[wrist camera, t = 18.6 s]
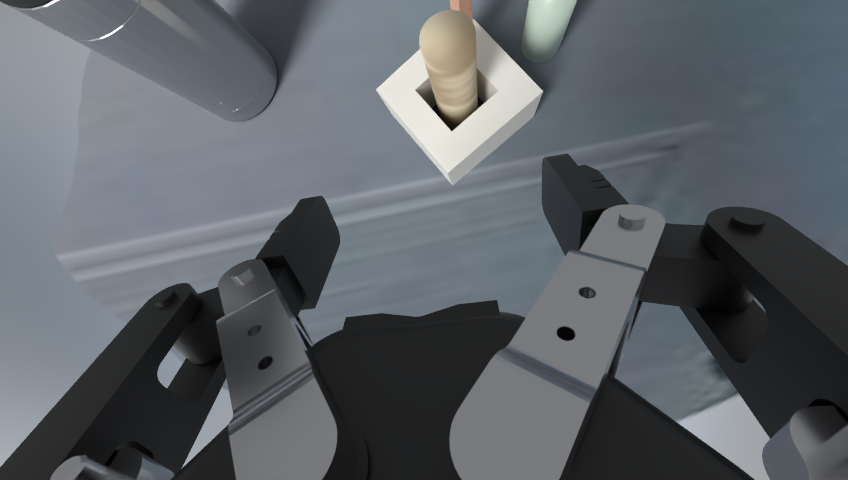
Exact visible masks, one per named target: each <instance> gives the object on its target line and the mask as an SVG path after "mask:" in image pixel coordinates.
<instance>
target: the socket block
mask: <svg viewBox="0 0 848 480" xmlns="http://www.w3.org/2000/svg"><path fill="white" fill-rule="evenodd" d="M450 6H451V10H458V11H461V12H463V13H465V14H466V15H467V16H468V17H469V18H470V19H471V20H472V22H473V24H474V26H475V30H476V60H477V96H478V97H479V98H480V99H481V100H482V101H483V102H484V104H483V105H482V106H481V107H479V108H478V109H477V110H476V111H475V112H474V113H473V114H471V115H470V116H469V117H468V118H467V119H466V120H464V121H463V122H462V123H461V124H460V125H459V126H458V127H456V128H455V129H454V130H453V131H451V130H450V129H449V128H448V127H447V126H446V125H445V123H444V122H443V121H442V120H441V119H440V118H439V117H438V116H437V114H436V113H435V112H434V111H433V110H432V108H433V107H434V106H435V105H436V104H437V103H436V100H435V96H434V93H433V89H432V86H431V83H430V79H429V76H428V72H427V69H426V66H425V62H424V59H423V55H422V52H421V49H419V50H418V51H417V52H416V53H415V54H414V55H413V56H412V57H411V58H410V59H409V60H408V61H406V62H405V63H404V64H403V65H402V66H401V67H400V68H399V69H398V70H397V71H396V72H395V73H393V74H392V75H391V76H390V77H389V78H388V79H387V80H386V81H385V82H384V83H383V84H381V85H380V86H379V87H378V88H377V89H376V90H377V92H378V93H379V95H380V97H381V98H382V100H383V101H384V103H385V104H386V106H387V107H388V109H389V110H390V112H391V114H392V115H393V116H394V117H395V118H396V119H397V121H398V122H399V123H400V124H401V125H402V126H403V128H404V129H405V130H406V131H407V132H408V133H409V135H410V136H411V137H412V138H413V139H414V141H415V142H416V143H417V144H418V145H419V146H420V148H421V149H422V150H423V151H424V152H425V153H426V155H427V156H428V157H429V158H430V159H431V160H432V162H433V163H434V164H435V165H436V166H437V167H438V169H439V170H440V171H441V172H442V173H443V175H444V176H445V177H446V178H447V179H448V180H449V182H450V183H451V184H452V185H454V184H455V183H457V182H458V181H459V180H460V179H461V178H462V177H464V176H465V175H466V174H467V173H468V172H469V171H471V170H472V169H473V168H474V167H475V166H477V165H478V164H479V163H480V162H481V161H482V160H484V159H485V158H486V157H487V156H488V155H489V154H491V153H492V152H493V151H494V150H495V149H497V148H498V147H499V146H500V145H501V144H502V143H504V142H505V141H506V140H507V139H508V138H509V137H511V136H512V135H513V134H514V133H515V132H517V131H518V130H519V129H520V128H521V127H522V126H524V125H525V124H526V123H527V122H528V121H529V120H531V119H532V118H533V117H534V115H535V112H536V109H537V107H538V104H539V101H540V99H541V96H542V93H543V91H542V90H541V89H540V88H539V86H538V85H537V84H536V83H535V82H534V81H533V80H532V79H531V78H530V77H529V76H528V75H527V74H526V73H525V72H524V71H523V70H522V69H521V68H520V67H519V66H518V65H517V64H516V63H515V62H514V60H513V59H512V58H511V57H510V56H509V55H508V54H507V53H506V52H505V51H504V50H503V49H502V48H501V47H500V46H499V45H498V44H497V43H496V42H495V41H494V40H493V39H492V38H491V37H490V36H489V34H488V33H487V32H486V31H485V30H484V29H483V28H482V27H481V26H480V25H479V24H478V23H477V22H476V21H475V20H474V19H473V18H472V0H450Z"/></svg>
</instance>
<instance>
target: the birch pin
mask: <svg viewBox="0 0 848 480" xmlns="http://www.w3.org/2000/svg"><path fill="white" fill-rule="evenodd" d="M419 44H420V49H421V52H422V55H423V59H424V62H425V66H426V69H427V72H428V76H429V79H430V83H431V86H432V89H433V93H434V96H435V100H436V103H437V106H438V110H439V113H440V117H441V120H442V121H443V122H444V123H445V125H446V126H447V127H448V128H449V129H450V130H451V131H453V130H454V129H455V128H456V127H458V126H459V125H460V124H461V123H462V122H463V121H464V120H466V119H467V118H468V117H469V116H470V115H471V114H473V113H474V112H475V111H476V110H477V109H478V99H477V60H476V30H475V26H474V24H473V22H472V20H471V19H470V18H469V17H468V16H467V15H466V14H465V13H463V12H461V11H458V10H444V11H441V12H438V13H436V14H434V15H433V16H432V17H430V18H429V19H428V20H427V21H426V23H425V24H424V26H423V27H422V30H421V32H420V37H419Z"/></svg>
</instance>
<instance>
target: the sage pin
mask: <svg viewBox="0 0 848 480" xmlns="http://www.w3.org/2000/svg"><path fill="white" fill-rule="evenodd" d="M576 2H577V0H529V3H528V9H527V14H526V20H525V25H524V31H523V36H522V41H521V51H522V54H523V56H524V57H525V58H526V59H527V60H529V61H531V62H533V63H544V62H547V61H549V60H550V59H552V58H553V57H554V56H555V55H556V54H557V52H558V50H559V47H560V45H561V42H562V39H563V37H564V34H565V31H566V29H567V26H568V23H569V21H570V18H571V15H572V12H573V10H574V7H575V4H576Z"/></svg>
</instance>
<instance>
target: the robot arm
mask: <svg viewBox="0 0 848 480" xmlns="http://www.w3.org/2000/svg"><path fill="white" fill-rule="evenodd" d="M0 1H1V2H2V3H4V4H7V5H9V6H10V7H12V8H14V9H16V10H18V11H20V12H21V13H23V14H25V15H27V16H29V17H31V18H33V19H35V20H37V21H39V22H41V23H42V24H44V25H47V26H48V27H50V28H52V29H54V30H56V31H58V32H59V33H61V34H63V35H65V36H67V37H70V38H71V39H73V40H75V41H77V42H79V43H81V44H83V45H85V46H87V47H89V48H90V49H92V50H94V51H96V52H98V53H100V54H102V55H104V56H106V57H108V58H109V59H111V60H113V61H115V62H117V63H119V64H121V65H123V66H125V67H127V68H128V69H130V70H132V71H134V72H136V73H138V74H140V75H142V76H144V77H146V78H147V79H149V80H151V81H153V82H155V83H157V84H159V85H161V86H163V87H165V88H167V89H168V90H170V91H172V92H174V93H176V94H178V95H180V96H182V97H184V98H186V99H187V100H189V101H191V102H193V103H195V104H197V105H199V106H201V107H203V108H204V109H206V110H208V111H210V112H212V113H214V114H216V115H218V116H220V117H222V118H224V119H226V120H230V121H244V120H248V119H250V118H252V117H254V116H256V115H258V114H259V113H260V112H261V111H263V110H264V108H265V107H266V106H267V105H268V104H269V102H270V100H271V99H272V97H273V94H274V92H275V89H276V83H277V69H276V65H275V62H274V60H273V58H272V56H271V55H270V53H269V52H268V51H267V50H266V49H265V48H264V47H263V46H262V45H261V44H260V43H259V42H258V41H257V40H256V39H255V38H254V37H252V36H251V35H250V34H249V33H248V32H247V31H246V30H245V29H244V28H243V27H242V26H241V25H240V24H239V23H238V22H237V21H236V20H235V19H234V18H233V17H232V16H230V15H229V14H228V13H227V12H226V11H225V10H224V9H223V8H222V7H221V6H220V5H219V4H218V3H217V2H216V1H215V0H0ZM542 205H543V211H544V214H545V216H546V218H547V220H548V222H549V224H550V226H551V228H552V230H553V232H554V234H555V236H556V238H557V240H558V242H559V244H560V246H561V248H562V250H563V252H564V254H565V257H564V259H563V261H562V262H561V264H560V265H559V267H558V268H557V270H556V272H555V273H554V275H553V276H552V278H551V279H550V281H549V282H548V284H547V286H546V287H545V289H544V290H543V292H542V293H541V295H540V297H539V298H538V300H537V301H536V303H535V304H534V306H533V307H532V309H531V311H530V312H529V314H528V315H527V317H526V318H525V317H522V316H519V315H515V314H510V313H505V312H499V308H498V303H497V300H493V301H484V302H476V303H467V304H458V305H455V306H452V307H449V308H446V309H443V310H439V311H436V312H433V313H430V314H427V315H424V316H420V317H411V316H402V315H392V314H383V313H380V314H371V315H363V316H354V317H346V319H345V323H344V326H343V330H340V331H338V332H335V333H333V334H331V335H329V336H327V337H325V338H323V339H322V340H320V341H319V342H317V343H316V344H314V343H313V341H312V339H311V337H310V335H309V333H308V331H307V329H306V327H305V326H304V324H303V322H302V320H301V318H300V317H299V315H298V314H299V312H300V310H305V309H313V308H315V307H316V304H317V302H318V299H319V297H320V294H321V291H322V289H323V286H324V284H325V281H326V278H327V276H328V273H329V271H330V268H331V266H332V263H333V260H334V258H335V255H336V253H337V250H338V248H339V245H340V235H339V231H338V228H337V226H336V223H335V221H334V219H333V217H332V214H331V212H330V210H329V207H328V205H327V203H326V201H325V199H324V198H323V197H322V196H316V197H311V198H305V199H301V200H300V201H299V202H298V204H297V205H296V207H295V208H294V210H293V211H292V213H291V214H290V215H288V216H287V217H286V218H285V219H284V220H282V221H281V222H280V223H279V225H278V226H277V228H276V229H275V232H273V233H272V235H271V236H270V240H268V241H267V242H266V244H265V245H264V247H263V248H262V249H261V251H260V252H259V254H258V255H257V257H256V258H255V259H252V260H248V261H245V262H242V263H240V264H238V265H236V266H234V267H232V268H231V269H230V270H228V271H227V272H226V273H225V274H224V275H223V276H222V277H221V279H220V280H219V282H218V287H216V288H214V289H211V290H208V291H205V292H202V293H199V294H198V293H197V292H196V291H195V290H194V289H193V287H192V286H191V285H190V284H187V283H181V284H176V285H173V286H171V287H168V288H166V289H164V290H162V291H161V292H159V293H157V294H156V295H154V296H153V297H152V298H151V299H149V300H148V301H147V302H146V303H145V304H144V306H143V307H142V308H141V309H140V310H139V311H138V312H137V313H136V315H135V316H134V317H133V318H132V319H131V320H130V321H129V322H128V324H127V325H126V326H125V327H124V328H123V329H122V330H121V331H120V333H119V334H118V335H117V336H116V337H115V338H114V339H113V341H112V342H111V343H110V344H109V345H108V346H107V347H106V349H105V350H104V351H103V352H102V353H101V354H100V355H99V356H98V357H97V359H96V360H95V361H94V362H93V363H92V364H91V365H90V367H89V368H88V369H87V370H86V371H85V372H84V373H83V374H82V376H81V377H80V378H79V379H78V380H77V381H76V382H75V383H74V385H73V386H72V387H71V388H70V389H69V391H67V393H66V394H65V395H64V396H63V397H62V398H61V399H60V401H59V402H58V403H57V404H56V405H55V406H54V407H53V408H52V410H51V411H50V412H49V413H48V414H47V415H46V416H45V417H44V418H43V420H42V421H41V422H40V423H39V424H38V425H37V427H36V428H35V429H34V430H33V431H32V432H31V433H30V434H29V435H28V437H27V438H26V439H25V440H24V441H23V442H22V443H21V445H20V446H19V447H18V448H17V449H16V450H15V452H13V454H12V455H11V456H10V457H9V458H8V459H7V460H6V461H5V463H4V464H3V465H2V466H1V467H0V480H754V479H753V478H752V477H750V476H749V475H748V474H747V473H745V472H744V471H743V470H742V469H740V468H739V467H738V466H736V465H735V464H734V463H732V462H731V461H729V460H728V459H727V458H725V457H724V456H722V455H721V454H720V453H718V452H717V451H716V450H714V449H713V448H711V447H710V446H709V445H707V444H706V443H704V442H703V441H702V440H700V439H699V438H698V437H696V436H695V435H693V434H692V433H691V432H689V431H688V430H687V429H685V428H684V427H682V426H681V425H680V424H678V423H677V422H675V421H674V420H673V419H671V418H670V417H669V416H667V415H666V414H664V413H663V412H662V411H660V410H659V409H658V408H656V407H655V406H653V405H652V404H651V403H649V402H648V401H646V400H645V399H644V398H642V397H641V396H640V395H638V394H637V393H635V392H634V391H633V390H631V389H630V388H628V387H627V386H626V385H624V384H623V383H622V382H620V381H619V380H617V376H618V373H619V370H620V367H621V363H622V360H623V357H624V354H625V351H626V348H627V345H628V343H629V340H630V337H631V335H632V332H633V329H634V326H635V324H636V321H637V318H638V316H639V313H640V310H641V307H642V305H643V302H649V303H657V304H665V305H673V306H679V307H680V308H681V310H682V311H683V313H684V314H685V316H686V317H687V319H688V320H689V322H690V323H691V324H692V326H693V327H694V329H695V330H696V332H697V333H698V335H699V336H700V337H701V339H702V340H703V342H704V343H705V345H706V346H707V348H708V349H709V351H710V352H711V353H712V355H713V356H714V358H715V359H716V361H717V362H718V364H719V365H720V366H721V368H722V369H723V371H724V372H725V374H726V375H727V377H728V378H729V379H730V381H731V382H732V384H733V385H734V387H735V388H736V390H737V391H738V393H739V394H740V395H741V397H742V398H743V400H744V401H745V403H746V404H747V406H748V407H749V408H750V410H751V411H752V413H753V414H754V416H755V417H756V419H757V420H758V421H759V423H760V424H761V426H762V427H763V429H764V430H765V432H766V433H767V435H768V436H769V437H770V440H769V441H768V442H767V443H766V444H765V447H764V448H763V454H762V457H763V463H764V466H765V470H766V472H767V474H768V476H769V478H770V480H848V266H847V265H846V264H844V263H843V262H841V261H840V260H839V259H837V258H836V257H834V256H833V255H832V254H830V253H829V252H827V251H826V250H825V249H823V248H822V247H820V246H819V245H818V244H816V243H815V242H813V241H812V240H811V239H809V238H808V237H806V236H805V235H804V234H802V233H801V232H799V231H798V230H797V229H795V228H794V227H792V226H791V225H790V224H788V223H787V222H785V221H784V220H782V219H781V218H779V217H777V216H775V215H773V214H771V213H768V212H765V211H761V210H757V209H753V208H746V207H725V208H720V209H716V210H714V211H712V212H711V213H709V214H708V216H707V219H706V221H705V224H704V225H681V224H668V223H666V222H665V219H664V217H663V216H662V215H661V214H660V213H659V212H657V211H655V210H653V209H651V208H648V207H645V206H640V205H630V204H629V203H628V202H627V201H626V200H625V199H624V198H623V197H622V196H621V195H620V194H619V192H618V191H617V190H616V189H615V188H614V187H612V186H611V184H610V183H609V182H608V181H607V180H605V177H604V176H603V175H602V174H601V173H600V172H599V171H598V170H596V169H593V168H591V167H589V166H586V165H583V166H578V165H577V164H576V163H575V162H574V161H573V159H572V158H571V157H570V156H569V155H568V154H562V155H556V156H550V157H545V158H544V159H543V163H542ZM754 297H755V298H756V299H757V300H758V301H759V302H760V303H761V305H762V306H763V307H764V309H765V311H766V313H767V314H766V313H765V312H764V311H763V310H762V309H761V307H760V306H759V305H758V304H757V303H756V302H755V301H754V300H753V298H754ZM172 346H174V347H175V348H176V349H178V350H179V351H180V352H181V353H182V354H183V355H184V356H185V357H186V360H185V361H184V363H183V364H182V366H181V368H180V369H179V371H178V372H177V374H176V375H175V377H174V379H173V380H172V382H171V384H170V385H169V387H168V388H165V387H164V386H163V385H162V384H161V383H160V382H159V381H158V377H157V371H158V367H159V365H160V363H161V362H162V360H163V359H164V357H165V356H166V355H167V353H168V352H169V350H170V349H171V347H172ZM226 377H227V383H228V388H229V393H230V398H231V404H232V409H233V419H232V420H231V421H230V423H229V425H227V426H226V427H225V428H224V429H223V430H222V431H221V432H220V433H219V434H218V435H217V436H216V437H215V438H214V439H213V440H212V441H211V442H210V443H208V445H206V446H205V447H204V448H203V449H202V450H201V451H200V452H199V453H198V454H197V455H196V456H195V457H194V458H193V459H192V460H191V461H189V462H188V463H187V464H186V465H185V466H184V467H183V468H182V466H183V464H184V462H185V460H186V458H187V456H188V454H189V452H190V450H191V448H192V446H193V444H194V442H195V440H196V438H197V436H198V434H199V432H200V430H201V428H202V425H203V424H204V422H205V420H206V418H207V415H208V414H209V412H210V410H211V408H212V406H213V404H214V402H215V400H216V398H217V396H218V394H219V392H220V389H221V387H222V385H223V383H224V381H225V379H226ZM181 468H182V469H181Z"/></svg>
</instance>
